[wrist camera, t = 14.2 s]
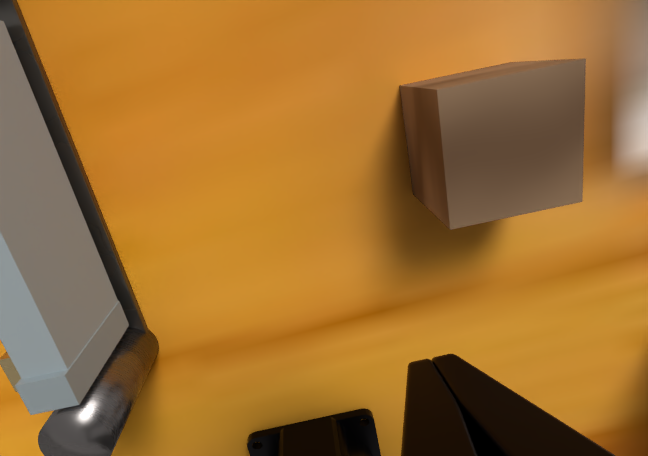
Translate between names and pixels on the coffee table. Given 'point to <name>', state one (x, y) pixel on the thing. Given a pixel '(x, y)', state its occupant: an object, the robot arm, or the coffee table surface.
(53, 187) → the grey block
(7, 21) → the dark grey long piece
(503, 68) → the walnut block
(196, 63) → the coffee table surface
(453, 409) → the robot arm
